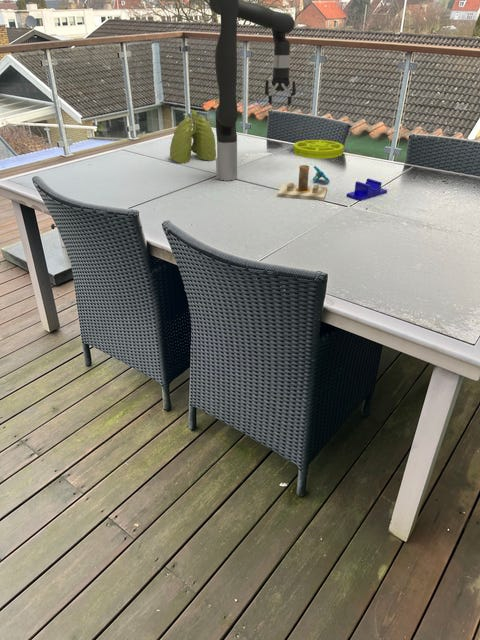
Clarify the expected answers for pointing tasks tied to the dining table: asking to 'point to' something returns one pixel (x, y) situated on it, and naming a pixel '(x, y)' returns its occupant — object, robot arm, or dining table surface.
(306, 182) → the pin
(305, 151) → the pulley
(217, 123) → the robot arm
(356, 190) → the mounting bracket
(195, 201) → the dining table surface
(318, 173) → the gear
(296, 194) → the plate
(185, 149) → the lungs
